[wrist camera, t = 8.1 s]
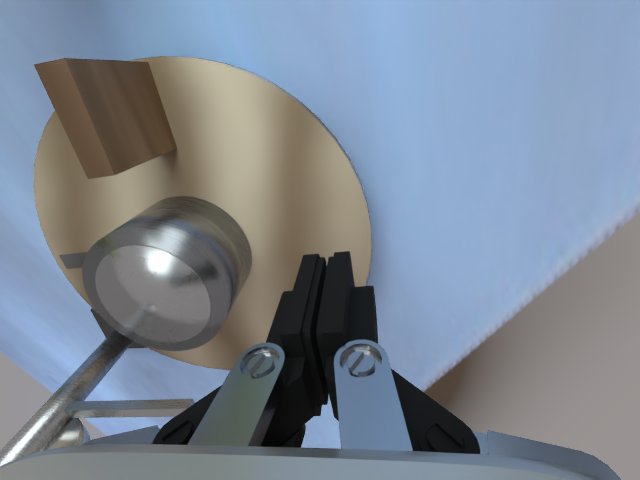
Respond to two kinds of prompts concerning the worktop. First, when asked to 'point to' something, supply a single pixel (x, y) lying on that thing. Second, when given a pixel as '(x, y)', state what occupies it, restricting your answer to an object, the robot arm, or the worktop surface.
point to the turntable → (196, 174)
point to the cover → (169, 273)
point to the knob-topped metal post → (84, 403)
